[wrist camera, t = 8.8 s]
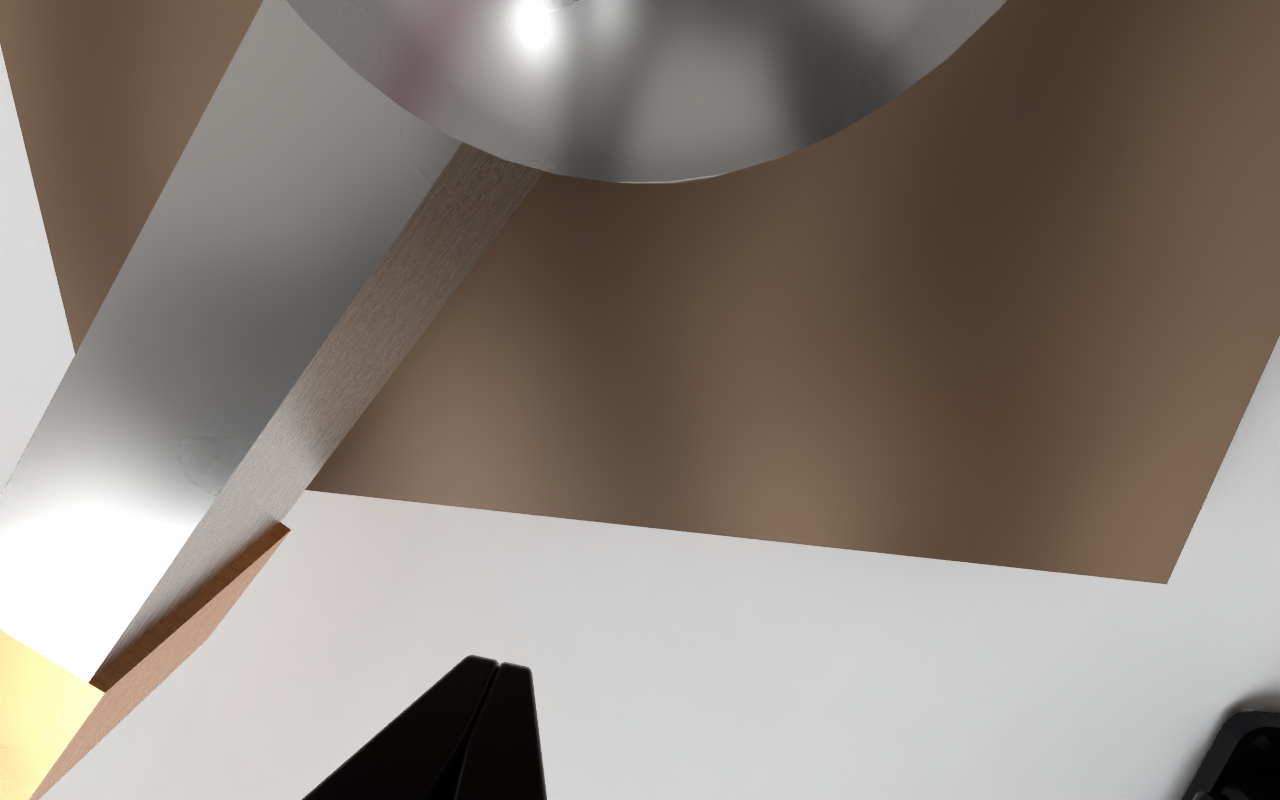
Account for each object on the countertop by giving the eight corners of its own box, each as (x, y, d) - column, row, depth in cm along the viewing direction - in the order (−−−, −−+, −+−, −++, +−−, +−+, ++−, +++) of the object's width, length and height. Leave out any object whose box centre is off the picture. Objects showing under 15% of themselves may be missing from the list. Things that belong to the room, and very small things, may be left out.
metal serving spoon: (632, -717, 5) (542, -2322, 2) (1075, -158, 6) (1521, -549, 3) (-8, 499, 10) (-357, 656, 7) (304, 701, 11) (140, 925, 8)
